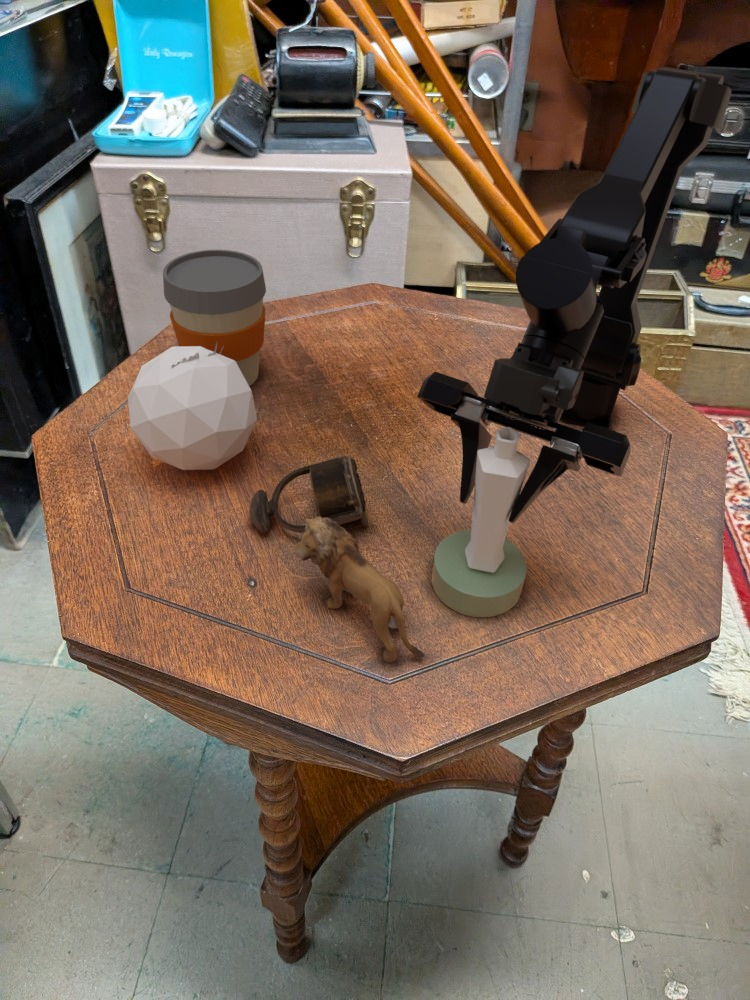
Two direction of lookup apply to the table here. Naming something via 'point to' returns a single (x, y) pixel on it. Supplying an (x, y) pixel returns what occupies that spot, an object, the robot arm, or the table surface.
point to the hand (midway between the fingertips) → (486, 512)
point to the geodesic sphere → (192, 408)
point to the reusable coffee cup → (218, 304)
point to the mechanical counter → (318, 495)
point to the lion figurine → (355, 579)
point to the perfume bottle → (495, 499)
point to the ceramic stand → (476, 578)
